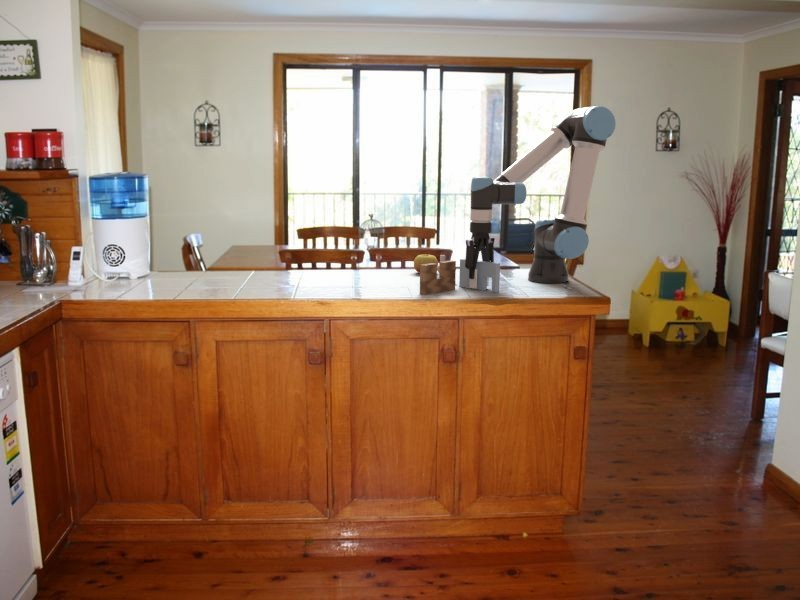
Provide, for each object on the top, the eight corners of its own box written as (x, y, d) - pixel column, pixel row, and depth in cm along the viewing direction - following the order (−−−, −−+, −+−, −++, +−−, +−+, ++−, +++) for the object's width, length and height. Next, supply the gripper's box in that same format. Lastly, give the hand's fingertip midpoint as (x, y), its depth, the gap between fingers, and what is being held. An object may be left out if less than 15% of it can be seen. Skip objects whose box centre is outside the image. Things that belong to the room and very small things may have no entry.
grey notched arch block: (459, 286, 274) (460, 259, 272) (463, 285, 275) (464, 258, 274) (495, 292, 263) (495, 263, 261) (499, 291, 265) (500, 263, 263)
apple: (438, 275, 299) (438, 255, 298) (413, 275, 299) (413, 254, 298) (437, 271, 309) (437, 252, 307) (413, 271, 309) (413, 251, 308)
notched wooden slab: (449, 288, 270) (450, 260, 269) (455, 289, 269) (455, 261, 267) (419, 293, 259) (420, 264, 257) (424, 294, 257) (425, 265, 256)
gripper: (488, 219, 274) (486, 282, 278) (455, 222, 260) (453, 288, 265) (505, 220, 269) (503, 284, 273) (472, 223, 255) (470, 291, 260)
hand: (479, 286), depth 269 cm, fingers open, 6 cm apart
